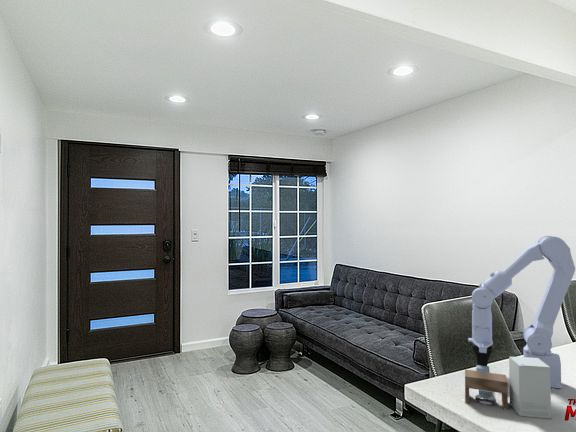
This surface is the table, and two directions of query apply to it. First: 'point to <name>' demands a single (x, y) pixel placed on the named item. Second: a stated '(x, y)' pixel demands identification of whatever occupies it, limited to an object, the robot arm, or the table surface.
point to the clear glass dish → (485, 400)
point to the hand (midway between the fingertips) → (482, 369)
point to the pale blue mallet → (483, 369)
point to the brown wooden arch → (486, 384)
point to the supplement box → (530, 387)
